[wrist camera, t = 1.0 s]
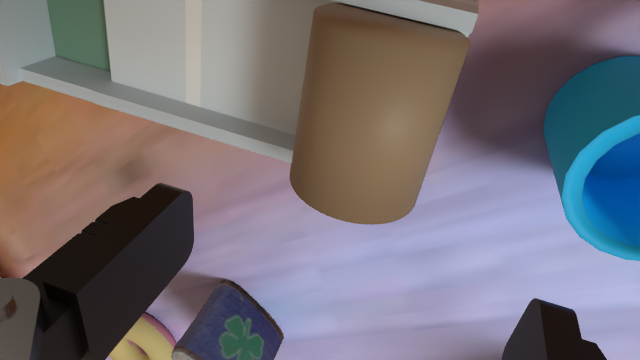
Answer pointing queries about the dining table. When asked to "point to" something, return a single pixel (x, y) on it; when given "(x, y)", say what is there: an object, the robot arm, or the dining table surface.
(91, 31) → the pit mat
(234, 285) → the flask
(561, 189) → the mug
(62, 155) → the dining table surface
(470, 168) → the dining table surface
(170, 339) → the donut
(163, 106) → the lane
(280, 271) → the dining table surface
